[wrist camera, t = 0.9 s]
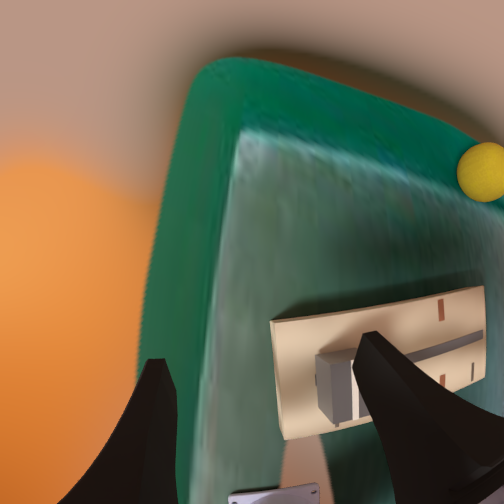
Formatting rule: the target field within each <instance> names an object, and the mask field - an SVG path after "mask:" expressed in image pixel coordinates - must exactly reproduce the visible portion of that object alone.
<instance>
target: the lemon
mask: <svg viewBox="0 0 504 504" xmlns="http://www.w3.org/2000/svg"><path fill="white" fill-rule="evenodd" d="M457 179H458V183H459V185H460V187H461V189H462V191H463V192H464V193H465V194H466V195H467V196H468V197H469V198H471V199H473V200H475V201H479V202H489V201H492V200H495V199H498V198H499V197H501V196H502V195H504V148H503V147H501V146H500V145H498V144H496V143H490V142H486V143H481V144H478V145H475V146H473V147H471V148H470V149H469V150H467V151H466V152H465V154H464V155H463V156H462V157H461V159H460V161H459V164H458V167H457Z"/></svg>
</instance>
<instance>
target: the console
mask: <svg viewBox="0 0 504 504" xmlns="http://www.w3.org/2000/svg"><path fill="white" fill-rule="evenodd" d="M270 328H271V338H272V349H273V359H274V370H275V381H276V392H277V403H278V414H279V426H280V430H281V432H282V434H283V437H284V439H285V440H290V439H295V438H301V437H307V436H312V435H317V434H322V433H327V432H331V431H336V430H340V429H344V428H348V427H352V426H356V425H360V424H363V423H367V422H371V421H373V420H372V418H371V416H370V415H369V416H365V417H362V418H359V419H357V420H350V421H346V422H342V423H338V424H332V423H331V422H330V420H329V419H328V418H327V417H326V416H325V415H324V414H323V412H322V411H321V410H320V409H319V408H318V396H317V380H316V365H315V355H316V354H322V353H328V352H334V351H339V350H344V349H350V348H358V346H359V343H360V340H361V337H362V333H366V332H371V331H376V330H377V331H378V332H379V333H380V334H381V335H382V336H383V337H385V338H386V339H387V340H388V341H389V342H390V343H391V344H392V345H393V346H395V347H396V348H397V349H398V350H399V351H400V352H401V353H402V354H404V355H405V356H406V357H407V358H408V359H409V360H410V361H412V362H413V363H414V364H415V365H416V366H417V367H419V368H420V369H421V370H422V371H424V372H425V373H426V374H427V375H429V376H430V377H431V378H432V379H434V380H435V381H436V382H438V383H439V384H440V385H442V386H443V387H445V388H446V389H448V390H449V391H451V392H454V391H457V390H459V389H461V388H463V387H466V386H468V385H470V384H472V383H474V382H476V381H478V380H480V379H482V378H484V377H485V365H486V315H485V297H484V286H474V287H465V288H461V289H457V290H452V291H448V292H443V293H439V294H434V295H429V296H424V297H419V298H414V299H409V300H404V301H399V302H393V303H388V304H382V305H376V306H371V307H365V308H358V309H352V310H346V311H339V312H333V313H326V314H319V315H311V316H304V317H296V318H288V319H279V320H271V321H270Z"/></svg>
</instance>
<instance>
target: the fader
mask: <svg viewBox="0 0 504 504" xmlns="http://www.w3.org/2000/svg"><path fill="white" fill-rule="evenodd" d="M357 349H358V348H350V349H344V350H339V351H334V352H328V353H322V354H316V355H315V365H316V380H317V396H318V408H319V409H320V410H321V411H322V412H323V414H324V415H325V416H326V417H327V418H328V419H329V420H330V422H331V423H332V424H338V423H342V422H346V421H350V420H357V419H359V418H362V417H365V416H369V415H370V414H369V411H368V409H367V407H366V405H365V403H364V400H363V398H362V396H361V394H360V391H359V389H358V386H357V383H356V380H355V376H354V373H353V370H352V365H353V362H354V359H355V356H356V353H357Z"/></svg>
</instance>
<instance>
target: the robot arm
mask: <svg viewBox="0 0 504 504" xmlns="http://www.w3.org/2000/svg"><path fill="white" fill-rule="evenodd" d="M352 370H353V373H354V376H355V380H356V383H357V386H358V389H359V391H360V394H361V396H362V398H363V400H364V403H365V405H366V407H367V409H368V411H369V414H370V416H371V418H372V420H373V422H374V425H375V427H376V429H377V431H378V433H379V436H380V439H381V441H382V444H383V448H384V451H385V455H386V458H387V462H388V466H389V470H390V474H391V478H392V483H393V488H394V494H395V501H396V504H504V418H503V417H500V416H497V415H495V414H493V413H490V412H488V411H485V410H483V409H481V408H479V407H477V406H475V405H473V404H471V403H469V402H467V401H466V400H464V399H462V398H460V397H459V396H457V395H456V394H454V393H452V392H451V391H449V390H448V389H446V388H445V387H443V386H442V385H440V384H439V383H438V382H436V381H435V380H434V379H432V378H431V377H430V376H429V375H427V374H426V373H425V372H424V371H422V370H421V369H420V368H419V367H417V366H416V365H415V364H414V363H413V362H412V361H410V360H409V359H408V358H407V357H406V356H405V355H404V354H402V353H401V352H400V351H399V350H398V349H397V348H396V347H395V346H393V345H392V344H391V343H390V342H389V341H388V340H387V339H386V338H385V337H383V336H382V335H381V334H380V333H379V332H378V331H377V330H376V331H371V332H366V333H362V337H361V340H360V343H359V346H358V349H357V353H356V356H355V359H354V362H353V365H352ZM177 417H178V415H177V395H176V389H175V386H174V383H173V381H172V378H171V375H170V372H169V369H168V367H167V364H166V361H165V358H164V359H148V360H147V361H146V362H145V365H144V368H143V370H142V373H141V375H140V378H139V380H138V382H137V385H136V387H135V389H134V391H133V393H132V396H131V398H130V400H129V402H128V404H127V406H126V408H125V410H124V413H123V414H122V416H121V418H120V420H119V421H118V423H117V426H116V427H115V429H114V431H113V433H112V434H111V436H110V438H109V439H108V441H107V443H106V444H105V446H104V447H103V449H102V450H101V452H100V453H99V455H98V456H97V458H96V459H95V460H94V462H93V463H92V465H91V466H90V467H89V469H88V470H87V471H86V473H85V474H84V475H83V476H82V478H81V479H80V480H79V481H78V482H77V483H76V484H75V486H74V487H73V488H72V489H71V490H70V491H69V492H68V494H67V495H66V496H65V497H64V498H63V499H61V500H60V501H59V502H58V503H57V504H178V498H177V489H176V478H175V458H176V436H177ZM314 490H316V491H315V492H312V491H314ZM228 501H229V504H320V503H319V485H318V484H317V483H310V484H304V485H299V486H293V487H288V488H281V489H274V490H267V491H259V492H249V493H238V494H231V495H229V496H228ZM233 502H237V503H233Z"/></svg>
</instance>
